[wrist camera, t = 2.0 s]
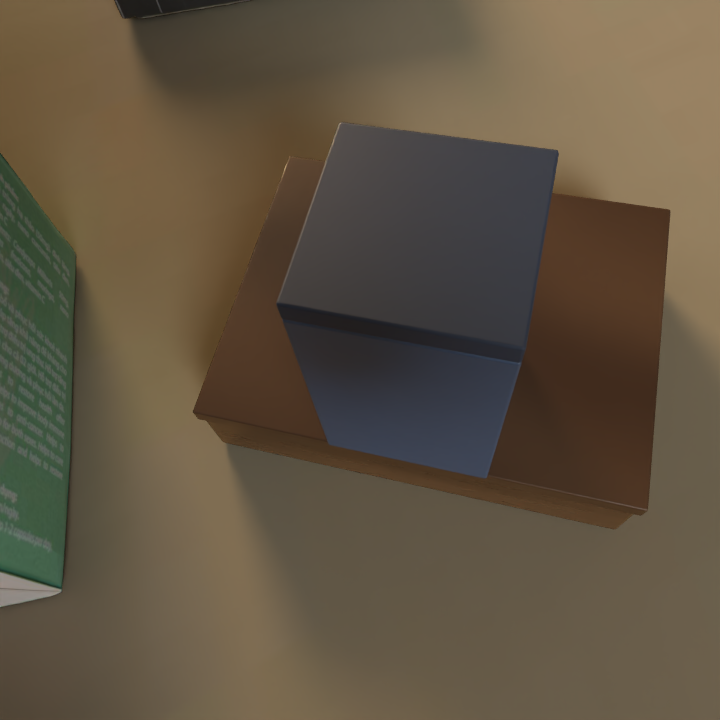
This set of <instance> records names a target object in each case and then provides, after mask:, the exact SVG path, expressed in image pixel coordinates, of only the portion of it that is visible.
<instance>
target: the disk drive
mask: <svg viewBox="0 0 720 720" xmlns="http://www.w3.org/2000/svg"><path fill="white" fill-rule="evenodd" d="M114 1H115V3H116V5H117V8H118V10H119V12H120V14H121V16H122V18H131V17H134V16H135V17H137V18H147V17H154V16H160V15H167V14H172V13H178V12H182V11H189V10H197V9H203V8H208V7H214V6H222V5H229V4H232V3H237V2H244V1H249V0H114Z"/></svg>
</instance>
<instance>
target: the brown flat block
mask: <svg viewBox="0 0 720 720" xmlns="http://www.w3.org/2000/svg"><path fill="white" fill-rule="evenodd" d="M324 164H325V161H320V160H313V159H306V158H299V157H292V156H290V157H289V159H288V161H287V164H286V167H285V169H284V172H283V175H282V177H281V180H280V183H279V185H278V188H277V190H276V193H275V196H274V198H273V201H272V204H271V206H270V209H269V212H268V214H267V217H266V220H265V222H264V225H263V227H262V230H261V233H260V235H259V238H258V241H257V243H256V246H255V249H254V251H253V254H252V257H251V259H250V262H249V264H248V267H247V270H246V272H245V275H244V278H243V280H242V283H241V286H240V288H239V291H238V294H237V296H236V299H235V301H234V304H233V307H232V309H231V312H230V315H229V317H228V320H227V323H226V325H225V328H224V331H223V333H222V336H221V339H220V341H219V344H218V346H217V349H216V352H215V354H214V357H213V360H212V362H211V365H210V368H209V370H208V373H207V376H206V378H205V381H204V383H203V386H202V389H201V391H200V394H199V397H198V399H197V402H196V405H195V407H194V410H193V413H194V414H195V415H196V417H197V418H198V419H201V420H205V421H207V422H208V424H209V425H210V426H211V427H212V429H213V430H214V431H215V432H216V434H217V435H218V436H219V437H220V439H221V440H222V441H223V442H225V443H230V444H234V445H239V446H243V447H248V448H252V449H256V450H261V451H265V452H270V453H274V454H279V455H283V456H288V457H292V458H297V459H301V460H306V461H310V462H315V463H319V464H324V465H328V466H333V467H337V468H342V469H346V470H350V471H355V472H359V473H364V474H368V475H373V476H377V477H382V478H386V479H391V480H395V481H400V482H404V483H409V484H413V485H418V486H422V487H427V488H431V489H436V490H440V491H445V492H449V493H453V494H458V495H462V496H467V497H471V498H476V499H480V500H485V501H489V502H494V503H498V504H503V505H507V506H512V507H516V508H521V509H525V510H530V511H534V512H539V513H543V514H548V515H552V516H556V517H561V518H565V519H570V520H574V521H579V522H583V523H588V524H592V525H597V526H601V527H606V528H610V529H617V528H618V527H619V526H620V525H621V524H622V523H624V522H625V521H626V520H627V519H628V518H630V517H631V516H632V515H633V514H636V515H643V514H644V513H645V512H646V511H647V510H648V501H649V488H650V475H651V462H652V448H653V435H654V422H655V409H656V395H657V382H658V369H659V355H660V342H661V329H662V316H663V302H664V289H665V276H666V263H667V249H668V236H669V223H670V210H668V209H661V208H654V207H647V206H640V205H633V204H626V203H619V202H612V201H604V200H597V199H590V198H583V197H576V196H569V195H562V194H555V193H552V197H551V203H550V209H549V215H548V221H547V227H546V233H545V239H544V245H543V251H542V257H541V263H540V269H539V275H538V281H537V287H536V293H535V299H534V305H533V311H532V317H531V323H530V329H529V335H528V341H527V347H526V351H525V354H524V357H523V360H522V364H521V367H520V370H519V374H518V377H517V380H516V383H515V387H514V390H513V393H512V397H511V400H510V403H509V407H508V410H507V413H506V416H505V420H504V423H503V426H502V430H501V433H500V436H499V439H498V443H497V446H496V449H495V453H494V456H493V459H492V463H491V466H490V469H489V472H488V476H487V478H479V477H475V476H470V475H466V474H461V473H456V472H452V471H447V470H443V469H438V468H434V467H429V466H424V465H420V464H415V463H411V462H406V461H401V460H397V459H392V458H388V457H383V456H378V455H374V454H369V453H365V452H360V451H355V450H351V449H346V448H342V447H337V446H332V445H329V444H328V442H327V439H326V436H325V434H324V431H323V428H322V426H321V423H320V420H319V418H318V415H317V412H316V409H315V407H314V404H313V401H312V399H311V396H310V393H309V391H308V388H307V385H306V383H305V380H304V377H303V375H302V372H301V369H300V367H299V364H298V361H297V359H296V356H295V353H294V351H293V348H292V345H291V343H290V340H289V337H288V335H287V332H286V329H285V327H284V324H283V321H282V318H281V316H280V314H279V311H278V308H277V306H276V302H277V299H278V296H279V293H280V290H281V288H282V285H283V282H284V279H285V276H286V273H287V270H288V268H289V265H290V262H291V259H292V256H293V253H294V250H295V247H296V245H297V242H298V239H299V236H300V233H301V230H302V227H303V224H304V222H305V219H306V216H307V213H308V210H309V207H310V204H311V202H312V199H313V196H314V193H315V190H316V187H317V184H318V181H319V179H320V176H321V173H322V170H323V167H324Z"/></svg>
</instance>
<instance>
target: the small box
mask: <svg viewBox="0 0 720 720" xmlns="http://www.w3.org/2000/svg"><path fill="white" fill-rule="evenodd" d="M558 155H559V154H558V151H557V150H553V149H545V148H537V147H529V146H522V145H514V144H506V143H499V142H491V141H483V140H475V139H468V138H460V137H452V136H444V135H437V134H429V133H421V132H414V131H406V130H398V129H390V128H383V127H375V126H367V125H359V124H352V123H344V122H340V123H339V124H338V127H337V130H336V133H335V136H334V138H333V141H332V144H331V147H330V150H329V153H328V156H327V159H326V161H325V164H324V167H323V170H322V173H321V176H320V179H319V181H318V184H317V187H316V190H315V193H314V196H313V199H312V202H311V204H310V207H309V210H308V213H307V216H306V219H305V222H304V224H303V227H302V230H301V233H300V236H299V239H298V242H297V245H296V247H295V250H294V253H293V256H292V259H291V262H290V265H289V268H288V270H287V273H286V276H285V279H284V282H283V285H282V288H281V290H280V293H279V296H278V299H277V302H276V306H277V308H278V311H279V314H280V316H281V318H282V321H283V324H284V327H285V329H286V332H287V335H288V337H289V340H290V343H291V345H292V348H293V351H294V353H295V356H296V359H297V361H298V364H299V367H300V369H301V372H302V375H303V377H304V380H305V383H306V385H307V388H308V391H309V393H310V396H311V399H312V401H313V404H314V407H315V409H316V412H317V415H318V418H319V420H320V423H321V426H322V428H323V431H324V434H325V436H326V439H327V442H328V444H329V445H332V446H337V447H342V448H346V449H351V450H355V451H360V452H365V453H369V454H374V455H378V456H383V457H388V458H392V459H397V460H401V461H406V462H411V463H415V464H420V465H424V466H429V467H434V468H438V469H443V470H447V471H452V472H456V473H461V474H466V475H470V476H475V477H479V478H487V476H488V472H489V469H490V466H491V463H492V459H493V456H494V453H495V449H496V446H497V443H498V439H499V436H500V433H501V430H502V426H503V423H504V420H505V416H506V413H507V410H508V407H509V403H510V400H511V397H512V393H513V390H514V387H515V383H516V380H517V377H518V374H519V370H520V367H521V364H522V360H523V357H524V354H525V351H526V347H527V341H528V335H529V329H530V323H531V317H532V311H533V305H534V299H535V293H536V287H537V281H538V275H539V269H540V263H541V257H542V251H543V245H544V239H545V233H546V227H547V221H548V215H549V209H550V203H551V197H552V191H553V185H554V179H555V173H556V167H557V161H558Z"/></svg>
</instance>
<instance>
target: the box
mask: <svg viewBox="0 0 720 720" xmlns="http://www.w3.org/2000/svg"><path fill="white" fill-rule="evenodd" d="M75 276H76V254H75V252H74V250H73V249H72V247H71V246H70V245H69V244H68V242H67V241H66V240H65V239H64V237H63V236H62V235H61V234H60V232H59V231H58V230H57V229H56V227H55V226H54V225H53V223H52V222H51V221H50V219H49V218H48V217H47V215H46V214H45V213H44V211H43V210H42V209H41V207H40V206H39V205H38V203H37V202H36V201H35V199H34V198H33V196H32V195H31V193H30V192H29V190H28V189H27V188H26V186H25V185H24V184H23V182H22V181H21V180H20V178H19V177H18V176H17V174H16V173H15V172H14V170H13V169H12V168H11V166H10V165H9V164H8V162H7V161H6V160H5V158H4V157H3V156H2V155H1V153H0V607H4V606H9V605H13V604H18V603H23V602H28V601H32V600H37V599H41V598H46V597H50V596H54V595H56V594H58V593H60V592H62V583H63V567H64V552H65V536H66V520H67V504H68V487H69V470H70V452H71V413H72V375H73V332H74V299H75Z"/></svg>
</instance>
